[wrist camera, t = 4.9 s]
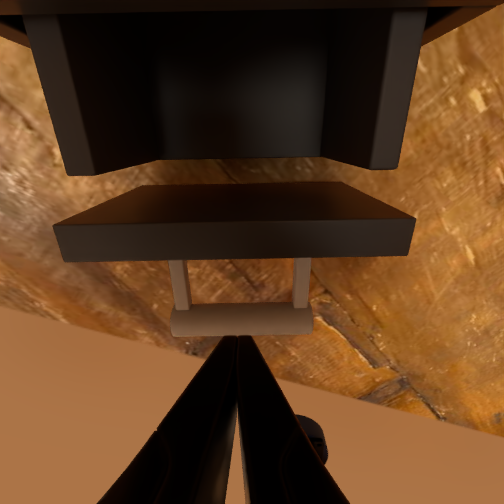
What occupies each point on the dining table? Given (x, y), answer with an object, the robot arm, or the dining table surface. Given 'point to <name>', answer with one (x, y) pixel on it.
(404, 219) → the dark brown drawer
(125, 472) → the robot arm
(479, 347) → the dining table surface
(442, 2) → the drawer cabinet
